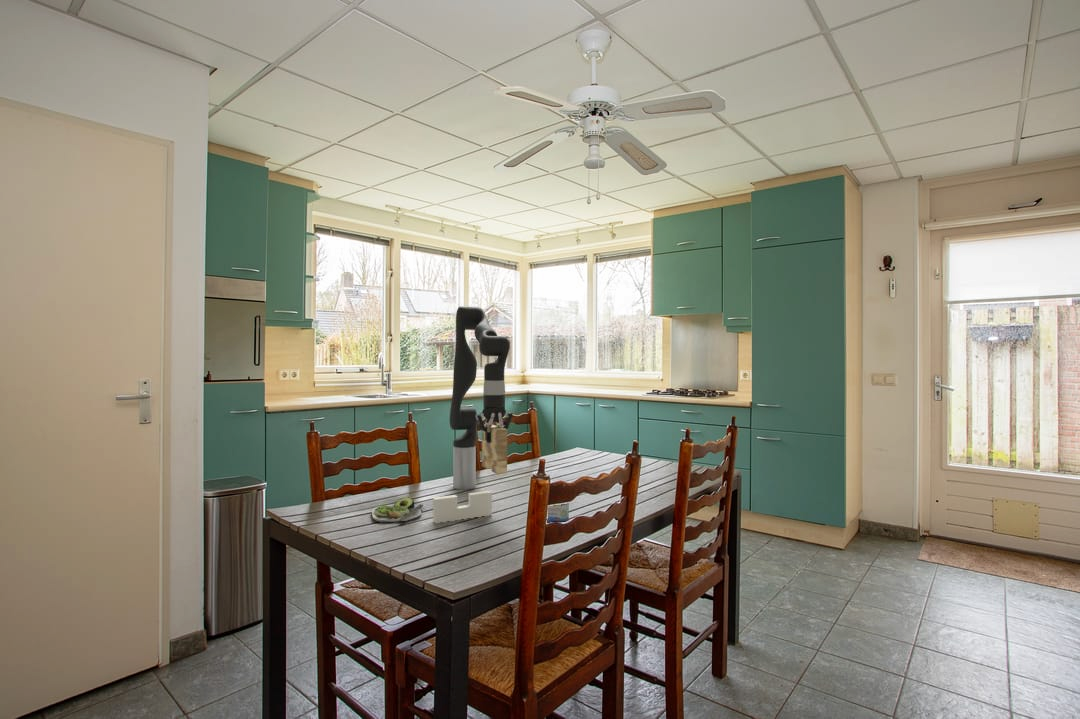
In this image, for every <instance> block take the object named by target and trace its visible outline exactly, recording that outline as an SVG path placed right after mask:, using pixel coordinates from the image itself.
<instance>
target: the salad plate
mask: <svg viewBox="0 0 1080 719" xmlns="http://www.w3.org/2000/svg"><path fill="white" fill-rule="evenodd" d="M423 506H424V504H419V505H418V504H415V501H414V499H413V498H412V497H402V498H399V499H397V501H395V503H394V504H392V505H384V504H383V505H378V506H376V507H373V508H372V509H371V516H372V518H373V520H374V521H376V522H378V521H379V522H378V523H382V522H394V523H398V522H397V521H405V522H408V520H409V521H412V520H414V518H415V519H417V518H419V517H420V516H421V515H422V510H421V509H422V508H423ZM377 516H378V518H377ZM380 516H390V517H391V518H395V519H391V518H390V517H389V518H390V519H385V518H379V517H380ZM411 519H412V520H411Z"/></svg>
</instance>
